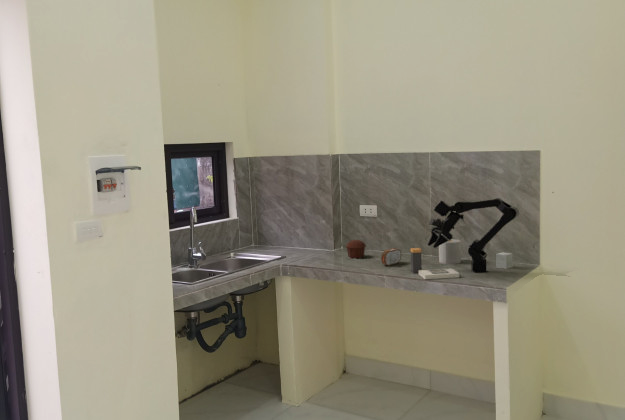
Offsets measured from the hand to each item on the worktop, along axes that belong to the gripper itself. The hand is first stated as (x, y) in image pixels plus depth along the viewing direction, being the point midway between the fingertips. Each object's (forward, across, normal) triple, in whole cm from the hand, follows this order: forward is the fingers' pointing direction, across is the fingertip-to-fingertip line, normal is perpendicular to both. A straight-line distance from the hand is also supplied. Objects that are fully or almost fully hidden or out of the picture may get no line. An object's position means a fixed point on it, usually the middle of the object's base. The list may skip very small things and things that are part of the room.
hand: (431, 246), depth 322 cm
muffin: (+27, -52, -15) cm, 61 cm away
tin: (+19, -25, -3) cm, 32 cm away
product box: (-15, +1, +38) cm, 40 cm away
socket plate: (+10, +10, +9) cm, 17 cm away
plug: (+15, -1, +3) cm, 15 cm away
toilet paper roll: (-2, -22, +21) cm, 31 cm away
